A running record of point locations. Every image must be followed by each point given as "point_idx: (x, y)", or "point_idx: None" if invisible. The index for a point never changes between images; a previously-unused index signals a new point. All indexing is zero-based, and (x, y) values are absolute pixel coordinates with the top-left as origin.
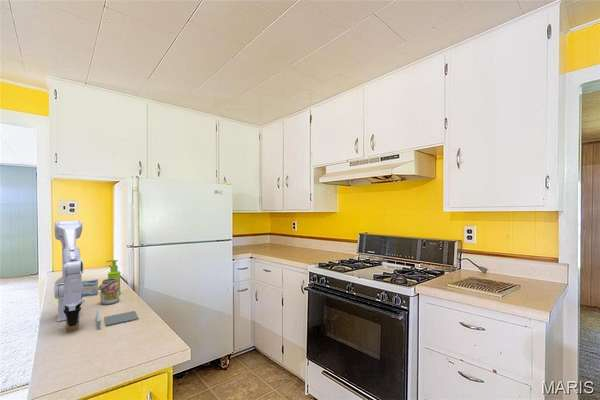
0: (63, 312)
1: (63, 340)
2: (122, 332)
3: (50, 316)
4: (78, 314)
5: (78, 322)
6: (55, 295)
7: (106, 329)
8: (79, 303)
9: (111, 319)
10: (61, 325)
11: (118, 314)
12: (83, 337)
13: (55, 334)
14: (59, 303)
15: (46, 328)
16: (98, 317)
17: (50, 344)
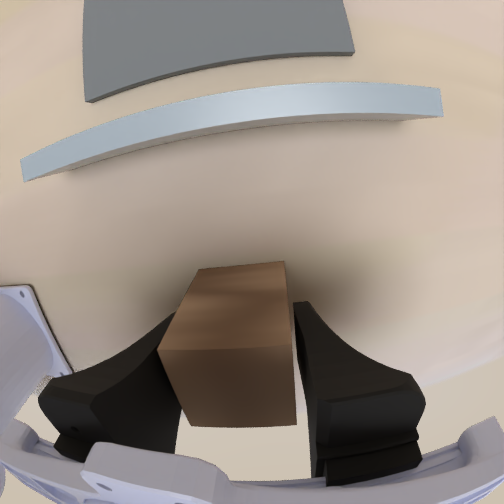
0: (33, 380)
1: (446, 312)
2: (500, 15)
3: None
4: (291, 347)
5: (286, 292)
6: (4, 483)
7: (422, 61)
8: (347, 490)
9: (203, 18)
10: None
11: (94, 7)
12: (481, 210)
13: None
14: (7, 426)
15: None
16: (306, 96)
17: (449, 354)
